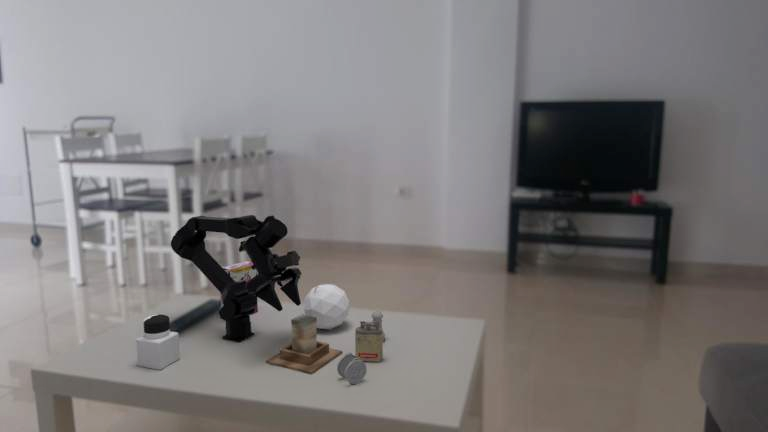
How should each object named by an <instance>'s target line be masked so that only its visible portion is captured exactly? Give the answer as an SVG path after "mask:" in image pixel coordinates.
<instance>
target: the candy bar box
mask: <svg viewBox="0 0 768 432" xmlns="http://www.w3.org/2000/svg"><path fill="white" fill-rule="evenodd" d="M252 265H253V263H252V261H242V262H237V263H234V264H229V265H225V266H221V267H222V268H223V269H224V270H225V271H226V272H227V273H228V274H229V275H230V277H231V278H232V279H233V280H234V281H235V282H237V283H239V282H242V281H246V282H248V281H249V280H251V279H252V278H253V277H255V276H256V275H257V274H258V272H257V270H256V269H255V270H252V268H251V266H252ZM219 295H220V297H219V298H220V309H221V308H222V307H223V306H224V304H223V303H222V294H221V293H220V292H219ZM258 306H259V305H258V302H257V305H256V308H255V311H254V313H252V314H249V316H250V315H253V314H255V313H258V312H259V311H258V309H259V307H258Z"/></svg>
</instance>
